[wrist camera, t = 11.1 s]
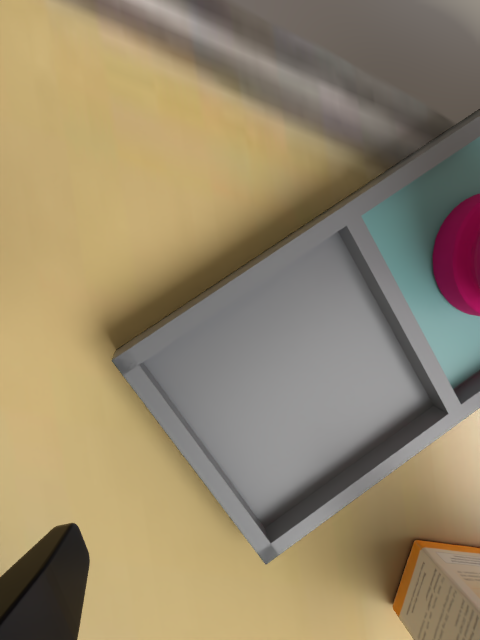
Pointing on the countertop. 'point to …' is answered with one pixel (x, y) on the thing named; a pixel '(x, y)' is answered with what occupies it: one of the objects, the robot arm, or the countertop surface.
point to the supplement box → (440, 592)
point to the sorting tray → (321, 353)
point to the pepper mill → (460, 257)
